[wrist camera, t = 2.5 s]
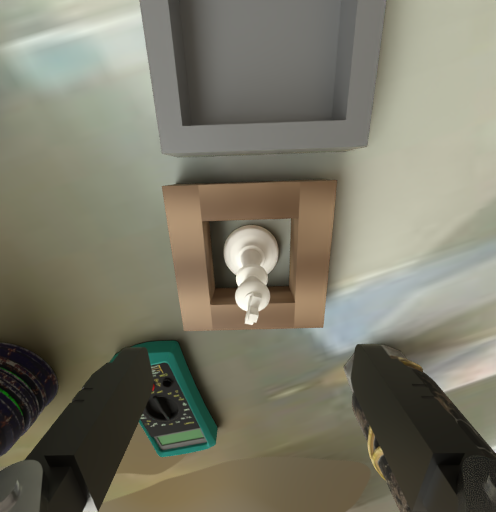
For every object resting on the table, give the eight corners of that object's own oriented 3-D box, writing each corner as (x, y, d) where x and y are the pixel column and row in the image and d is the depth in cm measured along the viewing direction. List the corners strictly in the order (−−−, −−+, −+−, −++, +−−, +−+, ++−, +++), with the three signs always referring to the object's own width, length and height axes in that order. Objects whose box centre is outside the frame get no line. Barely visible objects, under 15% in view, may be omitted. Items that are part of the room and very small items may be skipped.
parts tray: (147, -83, 13) (115, -167, 10) (370, -94, 13) (410, -182, 10) (177, 157, 18) (161, 153, 15) (345, 151, 18) (367, 146, 14)
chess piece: (285, 233, 20) (319, 286, 10) (269, 282, 22) (285, 366, 12) (230, 218, 19) (214, 260, 10) (218, 269, 21) (194, 347, 12)
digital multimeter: (176, 332, 24) (167, 352, 21) (219, 426, 29) (216, 453, 26) (113, 346, 25) (96, 368, 22) (165, 436, 30) (157, 463, 27)
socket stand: (175, 184, 19) (161, 186, 16) (323, 179, 18) (337, 180, 16) (192, 311, 23) (183, 331, 20) (313, 308, 22) (323, 327, 20)
